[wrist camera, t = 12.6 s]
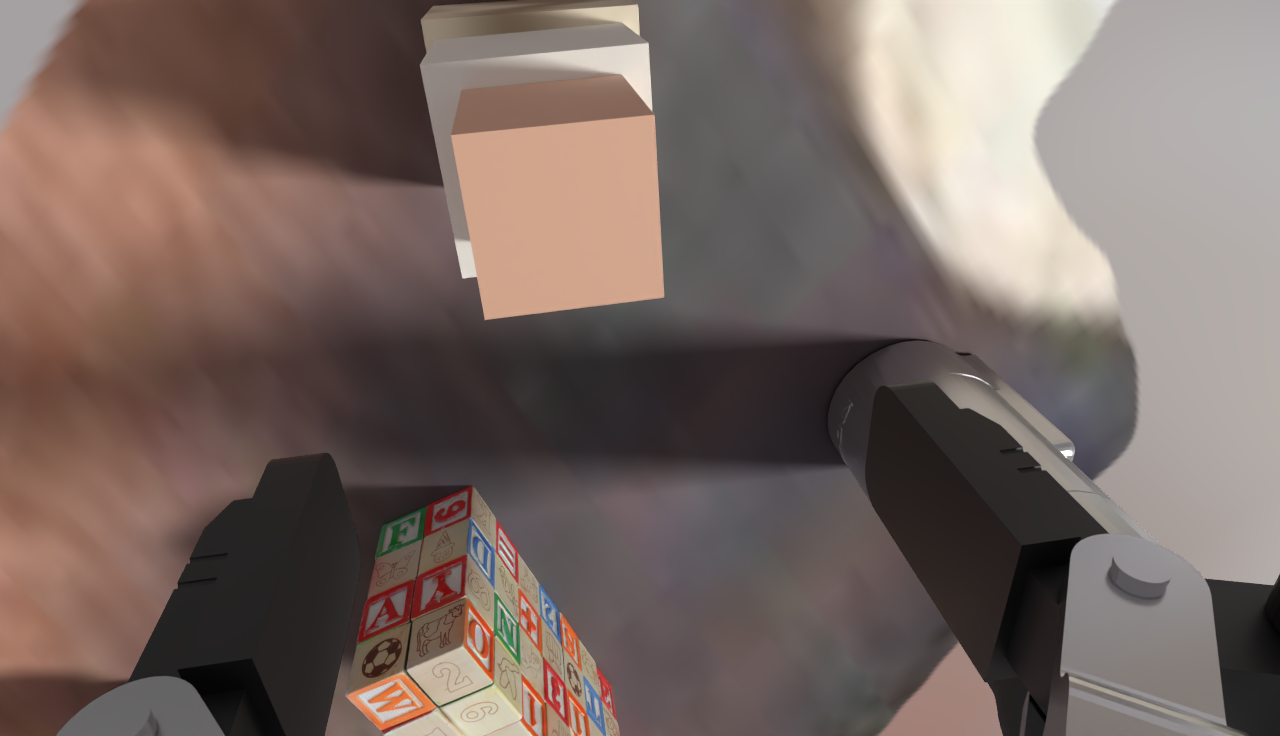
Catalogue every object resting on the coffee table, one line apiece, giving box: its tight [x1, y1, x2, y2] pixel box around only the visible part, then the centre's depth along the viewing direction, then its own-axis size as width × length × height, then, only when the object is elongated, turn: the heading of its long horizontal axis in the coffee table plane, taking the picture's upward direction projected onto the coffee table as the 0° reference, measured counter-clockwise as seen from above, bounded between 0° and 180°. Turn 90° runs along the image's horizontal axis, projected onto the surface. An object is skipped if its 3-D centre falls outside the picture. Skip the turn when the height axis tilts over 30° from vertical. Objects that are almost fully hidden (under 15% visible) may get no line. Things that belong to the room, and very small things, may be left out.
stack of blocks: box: [346, 486, 620, 736], centre depth 46 cm, size 21×6×12 cm, turn 23°
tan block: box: [451, 75, 664, 320], centre depth 23 cm, size 5×5×6 cm
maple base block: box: [421, 0, 640, 53], centre depth 33 cm, size 8×8×6 cm
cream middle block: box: [420, 23, 652, 278], centre depth 28 cm, size 7×7×6 cm
